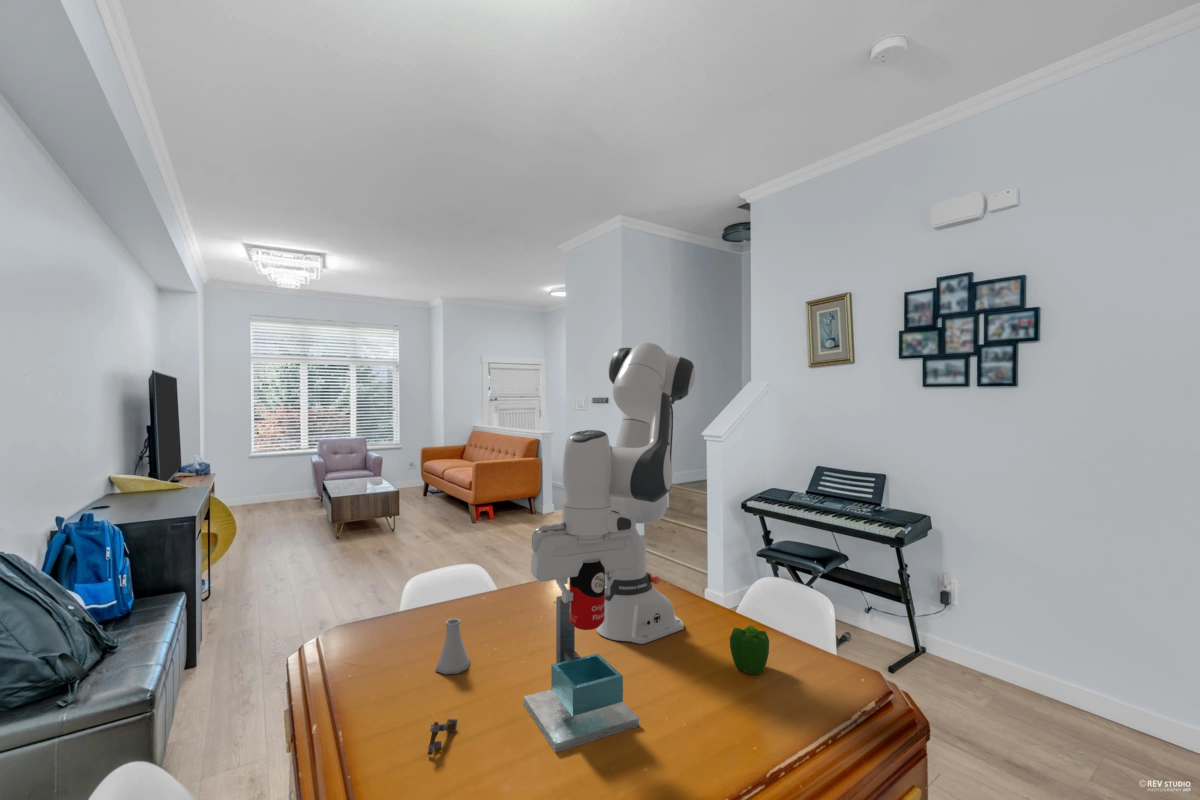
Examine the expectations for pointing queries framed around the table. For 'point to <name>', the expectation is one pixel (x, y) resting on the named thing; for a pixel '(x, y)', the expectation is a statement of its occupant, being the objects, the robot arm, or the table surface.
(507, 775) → the table surface
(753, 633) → the bell pepper
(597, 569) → the beverage can
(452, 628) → the flask
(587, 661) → the cup bracket stand
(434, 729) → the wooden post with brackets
